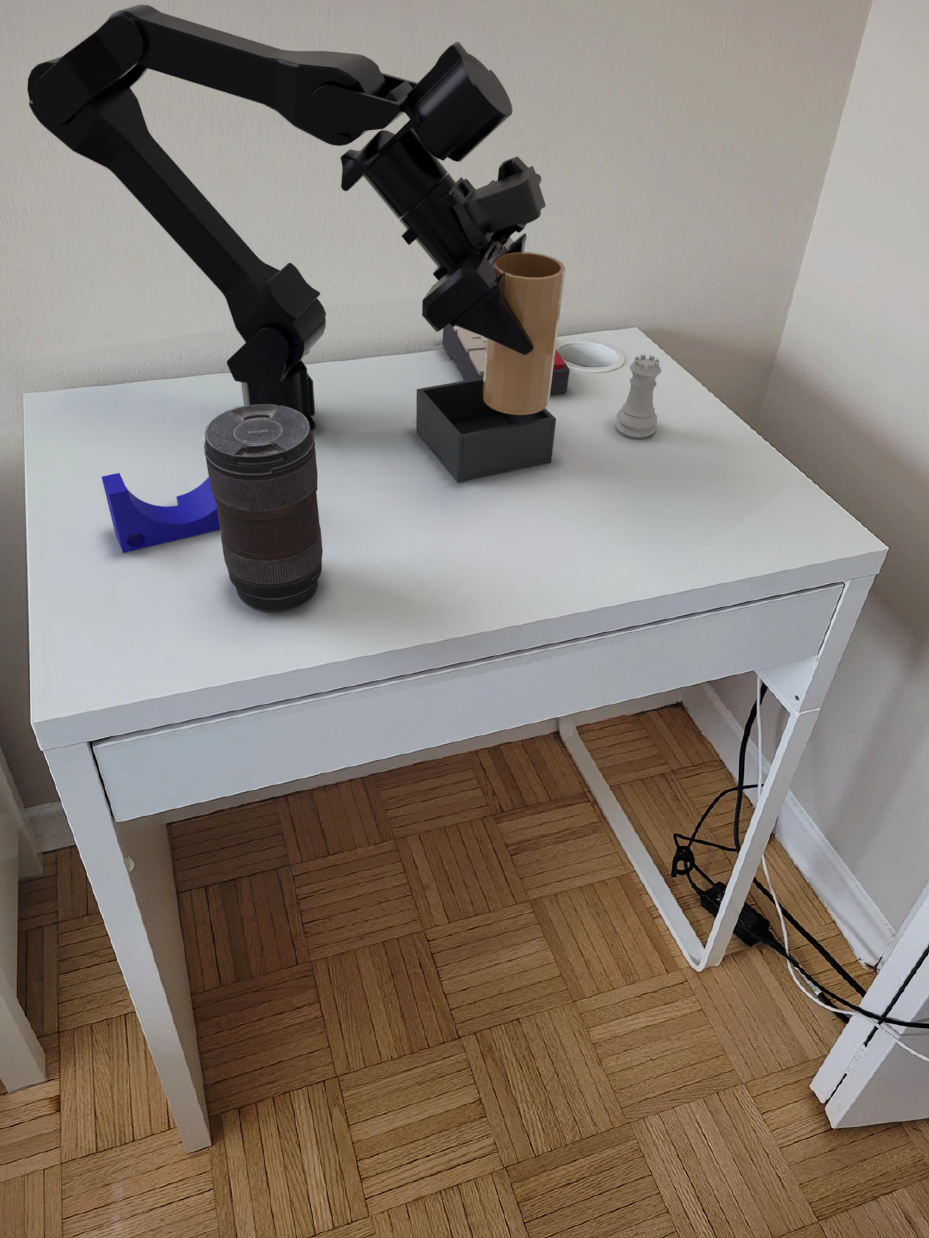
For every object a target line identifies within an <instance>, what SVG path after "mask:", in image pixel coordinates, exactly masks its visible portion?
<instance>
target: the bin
mask: <svg viewBox="0 0 929 1238" xmlns="http://www.w3.org/2000/svg"><path fill="white" fill-rule="evenodd" d="M483 379H484V377H483V378H477V379H471V380H466V381H464V380H461V381H455V382H450V383H444V384H438V385H432V386H426V387H421V388H416V403H415V404H416V408H415V410H416V411H415V412H416V415H415V416H416V418H415V419H416V420H415V422H416V424H415V427H416V429H415V432H416V434H417V435H418V437H419V438H420V439H421V440H422V441H423V442H424V444H425V445H426V446H427V447H428V449H429V450H430V451H431V453H432V454H433V455H434V456H435V458H436V459H437V460H438V461H439V462H440V464H441V465H442V466H443V467H444V469H445V470H446V471H447V472H448V474H449V475H450V476H451V477H452V478H453V479H454V481H455V482H456V483H463V482H467V481H471V480H476V479H481V478H486V477H490V476H495V475H500V474H504V473H505V474H506V473H508V472H510V473H511V472H513V471H518V470H523V469H528V468H532V467H537V466H542V465H547V464H551V463H552V458H553V451H554V450H553V449H554V441H555V433H556V432H555V431H556V425H557V424H556V423H557V418H556V417H555V416H554V415H553V414H552V413H551V412H550V411H549V410H548V409H547V408H545V409H543V410H541V411H539V412H537V413H533V414H528V415H512V414H506V413H502V412H499V411H496V410H494V409H492V408H491V407H489V406H488V405H487V404H486V403H485V402H484V400H483Z"/></svg>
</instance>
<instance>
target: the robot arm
mask: <svg viewBox="0 0 929 1238" xmlns="http://www.w3.org/2000/svg"><path fill="white" fill-rule="evenodd" d="M148 70H152V71H154V72H157V73H161V74H164V75H166V76H167V75H168V76H171V77H174V78H178V79H181V80H183V81H187V82H190V83H193V84H196V85H200V86H203V87H206V88H209V89H213V90H216V91H219V92H222V93H225V94H229V95H232V96H235V97H238V98H242V99H245V100H248V101H250V102H255V103H258V104H261V105H263V106H266V107H267V108H269V109H271V110H274V111H275V112H276V113H278V114H279V115H280V116H281V117H282V118H284V120H286V122H288V123H289V124H290V125H291V126H293V127H295V128H296V129H298V130H300V131H302V132H303V133H306V134H308V135H310V136H312V137H314V138H316V139H318V140H319V141H321V142H323V143H325V144H328V145H330V146H337V147H343V146H347V145H349V144H352V143H353V142H354V141H356V140H358V139H359V138H360V137H362V136H363V135H364V134H365V133H367V132H368V131H377V132H376V134H375V135H374V136H372V138H371V139H370V140H368V142H367V143H366V144H365V145H364V146H363V147H362V148H361V149H360V150H355V149H351V148H350V149H348V150H347V151H345V153H343V154H342V155H341V156H340V161H341V162H340V163H341V182H340V188H341V190H342V191H344V192H348V191H350V190H351V189H352V188H353V187H354V186H356V184H357V183H358V182H359V181H361V180H362V179H363V178H364V179H365V180H366V182H367V183H368V184H369V186H371V188H372V189H373V190H374V191H375V192H376V194H377V195H378V196H379V198H380V199H381V200H382V202H384V204H385V205H386V206H387V208H388V209H389V210H390V211H391V212H392V214H393V215H394V216H395V217H396V218H397V220H399V222H400V223H401V224H402V225H403V226H404V228H405V229H406V230H405V231H404V232H403V233H402V234H401V238H402V239H403V240H404V241H405V243H406V244H407V245H408V246H410V245H411V244H412V243H414V241H416V242H417V244H418V245H419V246H420V247H421V248H422V250H423V251H424V252H425V253H426V254H427V256H428V257H429V258H430V259H431V260H432V262H433V263H434V264H435V266H436V268H435V270H434V271H433V273H432V275H433V277H434V278H435V279H436V280H437V281H436V282H435V283H434V284H433V285H431V287H430V289H429V290H428V292H427V293H426V295H425V296H424V297H423V299H422V305H421V316H422V317H423V318H424V319H425V321H426V322H427V323H428V325H430V327H432V329H433V330H434V331H435V333H438V332H440V331H442V330H443V328H444V327H445V326H446V325H449V326H451V327H454V326H458V327H461V328H463V329H466V330H468V331H471V332H473V333H476V334H479V335H481V336H484V337H486V338H488V339H490V340H493V341H495V342H497V343H499V344H501V345H503V346H506V347H508V348H510V349H512V350H514V351H516V352H519V353H521V354H523V355H527V354H528V353H530V352H531V351H532V350H533V349H534V346H533V344H532V342H531V340H530V338H529V336H528V335H527V333H526V331H525V330H524V328H523V326H522V325H521V323H520V321H519V320H518V318H517V317H516V315H515V313H514V312H513V310H512V309H511V307H510V305H509V304H508V302H507V300H506V299H505V296H504V290H505V272H504V273H502V274H501V275H500V276H499V277H498V278H497V277H496V274H495V271H494V269H493V266H492V261H493V260H494V259H495V258H496V257H498V256H500V255H503V254H507V253H514V252H525V248H526V241H527V238H528V237H527V233H526V232H524V233H523V234H521V235H520V236H519V237H518V238H517V239H515V240H513V239H512V237H511V236H512V235H513V234H514V233H519V234H520V233H521V232H523V230H524V229H525V228H526V226H527V224H530V223H533V222H534V221H536V220H537V219H539V218H540V217H541V215H542V213H541V212H542V209H544V208H546V202H545V198H544V195H543V192H542V188H541V185H540V184H541V182H542V176H541V175H540V174H539V173H537V172H536V170H535V168H534V166H533V165H530V166H527V164H525V162H524V161H523V160H522V159H521V158H520V157H519V156H515V157H512V158H509V159H506V160H504V161H502V162H501V164H500V165H499V167H498V173H497V180H494V179H493V180H491V181H489V183H488V184H486V185H483V186H481V187H479V188H475V187H474V186H473V184H472V183H471V181H470V180H469V179H467V178H463V177H462V176H460V177H459V178H458V180H455V179H454V178H453V177H452V176H451V174H450V173H449V171H448V170H447V168H445V167H444V165H443V164H442V163H441V161H442V162H444V161H446V160H447V158H448V159H449V160H451V161H453V162H457V163H459V162H462V161H463V160H464V159H466V157H468V156H469V155H470V153H472V152H473V151H474V150H475V149H476V148H477V147H478V146H480V145H481V144H482V143H483V142H484V141H485V140H486V139H487V138H488V137H489V136H490V135H491V134H493V132H495V131H496V130H497V129H498V128H499V127H500V126H501V125H502V124H503V123H504V122H506V120H507V119H509V118H510V117H511V116H512V115H513V105H512V102H511V99H510V96H509V95H508V93H507V91H506V89H505V88H504V85H503V84H502V82H501V81H500V79H499V78H498V76H497V74H495V72H494V71H493V69H488V68H487V67H486V65H484V64H483V63H482V62H481V60H480V59H478V58H477V57H476V56H474V55H473V54H470V53H468V52H467V50H466V49H465V47H464V46H463V45H462V43H461V42H460V41H455V42H454V43H452V44H451V45H449V46H448V47H447V48H446V49H445V51H443V53H441V54H440V55H439V57H438V59H437V61H436V62H435V64H434V65H433V67H431V69H429V71H428V72H427V73H425V74H424V76H423V77H422V78H421V79H420V80H419V81H418V82H416V81H413V80H410V79H409V80H408V79H406V78H402V77H398V76H394V75H391V74H388V73H384V72H381V69H380V66H379V65H378V64H377V63H376V62H375V61H374V60H373V59H371V58H369V57H368V56H366V55H363V54H359V53H351V52H339V51H328V50H289V49H281V48H278V47H274V46H271V45H269V44H265V43H261V42H258V41H255V40H253V39H248V38H246V37H243V36H239V35H236V34H231V33H229V32H226V31H223V30H219V29H216V28H213V27H210V26H206V25H203V24H200V23H197V22H193V21H190V20H187V19H183V18H180V17H178V16H174V15H170V14H167V13H164V12H162V11H160V10H158V9H156V8H155V7H153V6H151V5H149V4H138V5H134V6H130V7H127V8H123V9H120V10H116V11H115V12H112V13H111V14H110V16H109V17H108V18H107V20H106V21H105V22H103V24H101V25H100V27H99V28H98V29H96V30H95V31H94V32H93V33H92V34H90V35H89V36H87V37H86V38H85V39H83V40H82V41H81V42H80V43H78V44H77V45H75V46H74V47H73V48H72V49H70V50H69V51H67V52H66V53H65V54H63V55H62V56H59V57H55V58H53V59H49V60H47V61H44V62H40V63H37V64H36V65H35V66H34V67H33V68H31V70H30V73H29V74H28V77H27V94H28V99H29V100H28V101H29V102H28V107H30V110H31V112H32V114H33V115H34V117H35V118H36V120H37V121H38V122H39V124H41V126H43V127H44V128H45V129H46V130H47V131H48V132H50V134H52V135H53V136H54V137H55V138H57V140H59V141H60V142H61V143H62V144H64V145H65V146H66V147H67V148H68V149H70V150H71V151H72V152H74V153H76V154H78V155H80V156H82V157H84V158H85V159H88V160H89V161H92V162H94V163H96V164H98V165H100V166H102V167H103V168H106V169H107V170H108V171H110V172H111V173H112V174H113V175H114V176H115V177H116V178H117V179H118V180H119V182H121V184H122V185H123V186H124V187H125V188H126V190H127V191H129V193H130V194H131V195H132V196H133V197H134V198H135V200H137V202H138V203H140V205H141V206H142V207H143V208H144V209H145V210H146V212H148V214H150V215H151V217H152V218H153V219H154V220H155V221H156V222H157V223H158V224H159V225H160V227H161V228H162V229H163V230H164V231H165V232H166V233H167V234H168V235H169V237H170V238H172V240H173V241H174V242H175V243H176V244H177V245H178V246H179V247H180V248H181V250H182V251H183V252H184V253H185V255H187V256H188V257H189V258H190V259H191V261H192V262H193V263H194V264H195V266H197V267H198V268H199V269H200V271H201V272H202V273H203V274H204V275H205V276H206V277H207V278H208V279H209V280H210V281H211V283H212V284H213V285H214V286H215V287H216V288H217V289H218V290H219V291H220V293H221V294H222V295H223V297H224V299H225V301H226V304H227V307H228V309H229V312H230V315H231V319H232V322H233V325H234V327H235V329H236V331H237V332H238V334H239V335H240V337H241V338H242V340H243V341H244V342H245V343H243V344H242V346H241V347H239V348H238V349H237V351H236V352H234V353H233V354H232V355H231V356H230V358H228V359H227V361H226V365H227V367H228V369H229V372H230V374H231V376H232V377H233V380H234V381H235V382H238V383H240V386H241V392H242V401H243V406H249V405H258V404H275V405H278V406H285V407H289V408H292V409H294V410H296V411H299V412H300V413H302V414H303V415H304V416H305V417H306V418H307V420H308V422H309V424H310V429H311V431H313V430H316V429H317V423H316V422H315V419H313V417H314V416H315V415H316V406H315V391H314V380H313V379H312V377H311V376H310V375H309V373H308V368H307V366H306V364H305V363H304V362H303V361H302V360H303V358H305V356H307V355H309V353H310V352H311V349H312V348H313V347H314V346H315V345H316V343H317V342H318V341H319V340H320V339H321V338H322V336H323V335H324V334H325V330H326V327H327V320H326V319H327V318H326V316H327V313H326V310H325V307H324V305H323V304H322V303H321V301H320V300H319V297H320V296H321V292H320V291H319V290H317V289H316V288H314V287H312V286H311V285H310V284H309V283H308V282H307V281H306V279H305V278H304V277H303V274H302V273H301V272H300V271H299V269H298V267H296V266H295V265H294V264H293V263H292V262H288V263H286V265H284V267H282V268H281V269H278V268H276V267H274V266H272V265H270V264H268V263H266V262H264V261H263V260H262V259H260V258H259V257H258V255H256V253H255V252H254V250H252V248H251V247H249V245H248V244H247V243H246V242H245V241H244V239H243V238H242V237H241V236H240V235H239V233H238V232H237V231H236V230H235V229H234V228H233V227H232V226H231V225H230V224H229V222H228V221H227V220H226V219H225V218H224V217H223V215H222V214H220V212H219V211H218V210H217V209H216V207H214V205H213V204H212V203H211V202H210V201H209V199H208V198H206V197H205V195H204V194H203V193H202V191H200V190H199V189H198V187H197V186H196V185H195V184H194V183H193V182H192V180H191V179H190V178H189V177H188V176H187V175H186V173H185V172H184V171H183V170H182V169H181V168H180V166H179V165H178V164H177V163H176V162H175V161H174V160H173V158H171V156H170V155H169V154H168V153H167V152H166V151H165V150H164V148H162V146H161V145H160V144H159V142H157V141H156V139H155V138H154V137H153V136H152V134H151V133H150V131H149V129H148V125H147V123H146V119H145V116H144V114H143V110H142V107H141V105H140V102H139V99H138V97H137V96H136V93H134V91H133V89H132V87H133V86H134V85H136V83H138V82H139V80H141V79H142V78H143V77H144V75H145V74H146V73H147V72H148ZM404 114H405V115H406V116H407V118H408V119H409V120H408V121H407V122H406V123H405V124H404V125H403V126H401V128H400V129H399V130H398V131H397V132H396V133H393V132H391V131H389V130H385V129H386V128H387V127H388V126H390V125H391V124H392V123H394V122H395V121H396V120H397V119H398V118H400V117H402V115H404ZM378 130H379V131H378Z"/></svg>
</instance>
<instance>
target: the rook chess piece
mask: <svg viewBox="0 0 929 1238" xmlns="http://www.w3.org/2000/svg"><path fill="white" fill-rule="evenodd" d="M629 371H630V372H631V373H632V377H631V378H630V379H629V383H630V388H629V391H628V395H627V398H626V400H625V402H624V404H622V407H621V408H620V409H618V411H617V413H616V420H615V421H614V426H615V427H616V429H617V431H618V433H619V434H621V435H622V436H624V437H628V438H630V439H645V438H649V437H650V436H652V435H653V434H654V433H655V432H656V431H657V425H656V424H657V423H658V416H657V414H656V413H655V410H656V409H655V408H654V390H655V388H656V386H657V384H658V383H657V380H656V378H657V377H658V376H659V375H660V374H661V373H662V368H661V366H660V359H659V358H655V355H651V354H650V355H649V357H648V358H647V355H646V354H640V356H639V355H636V356H635V357H634V361H633V362H632V363H631V364H630V365H629Z"/></svg>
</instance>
